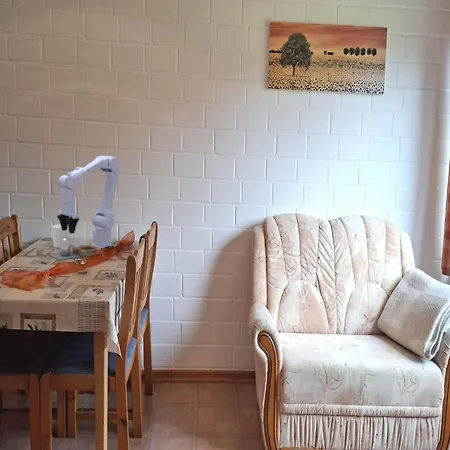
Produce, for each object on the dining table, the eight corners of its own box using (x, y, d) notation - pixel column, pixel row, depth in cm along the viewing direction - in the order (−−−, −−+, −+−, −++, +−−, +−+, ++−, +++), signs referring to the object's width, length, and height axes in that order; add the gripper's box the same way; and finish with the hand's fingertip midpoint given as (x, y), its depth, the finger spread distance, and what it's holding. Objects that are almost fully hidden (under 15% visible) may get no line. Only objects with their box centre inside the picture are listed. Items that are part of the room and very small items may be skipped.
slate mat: (49, 255, 240) (49, 254, 240) (70, 252, 247) (70, 252, 247) (58, 260, 233) (58, 259, 233) (80, 257, 240) (80, 256, 239)
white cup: (51, 245, 261) (50, 224, 259) (67, 244, 265) (67, 224, 263) (53, 248, 254) (52, 227, 252) (70, 247, 258) (70, 227, 256)
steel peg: (59, 255, 240) (58, 237, 239) (67, 254, 243) (67, 236, 241) (62, 257, 237) (62, 239, 236) (71, 255, 240) (71, 238, 238)
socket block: (72, 252, 248) (72, 247, 247) (92, 250, 254) (92, 244, 254) (82, 257, 240) (82, 251, 240) (102, 254, 247) (102, 249, 246)
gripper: (52, 200, 244) (53, 229, 246) (66, 204, 233) (66, 235, 235) (66, 199, 248) (67, 228, 251) (81, 203, 238) (81, 233, 240)
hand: (68, 231), depth 243 cm, fingers open, 7 cm apart
